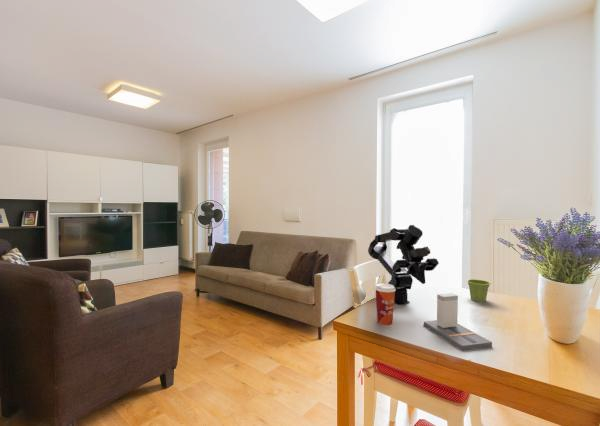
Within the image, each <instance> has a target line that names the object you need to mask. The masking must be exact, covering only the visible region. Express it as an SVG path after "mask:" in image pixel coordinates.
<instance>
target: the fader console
mask: <svg viewBox="0 0 600 426" xmlns="http://www.w3.org/2000/svg"><path fill="white" fill-rule="evenodd" d="M423 327H426V328H427V329H428V330H429V331H431V332H432V333H435V334H436V335H437V336H439V337H441V338H442V339H443V340H446V342H449V344H451V345H453V346H454V347H456V348H457V349H458V350H460V351H463V352H464V351H468V350H469V351H470V350H478V349H486V348H492V347H493V341H491V340H489V339H487V338H486V337H483V336H481V335H480V334H478V333H476V332H474V331H472V330H471V329H469V328H467V327H465V326H464V325H461V324H460V323H458V322H457V326H456V327H447V328H442V327H440V326H438V325H437V319H434V320H426V321H425V320H424V321H423Z"/></svg>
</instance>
